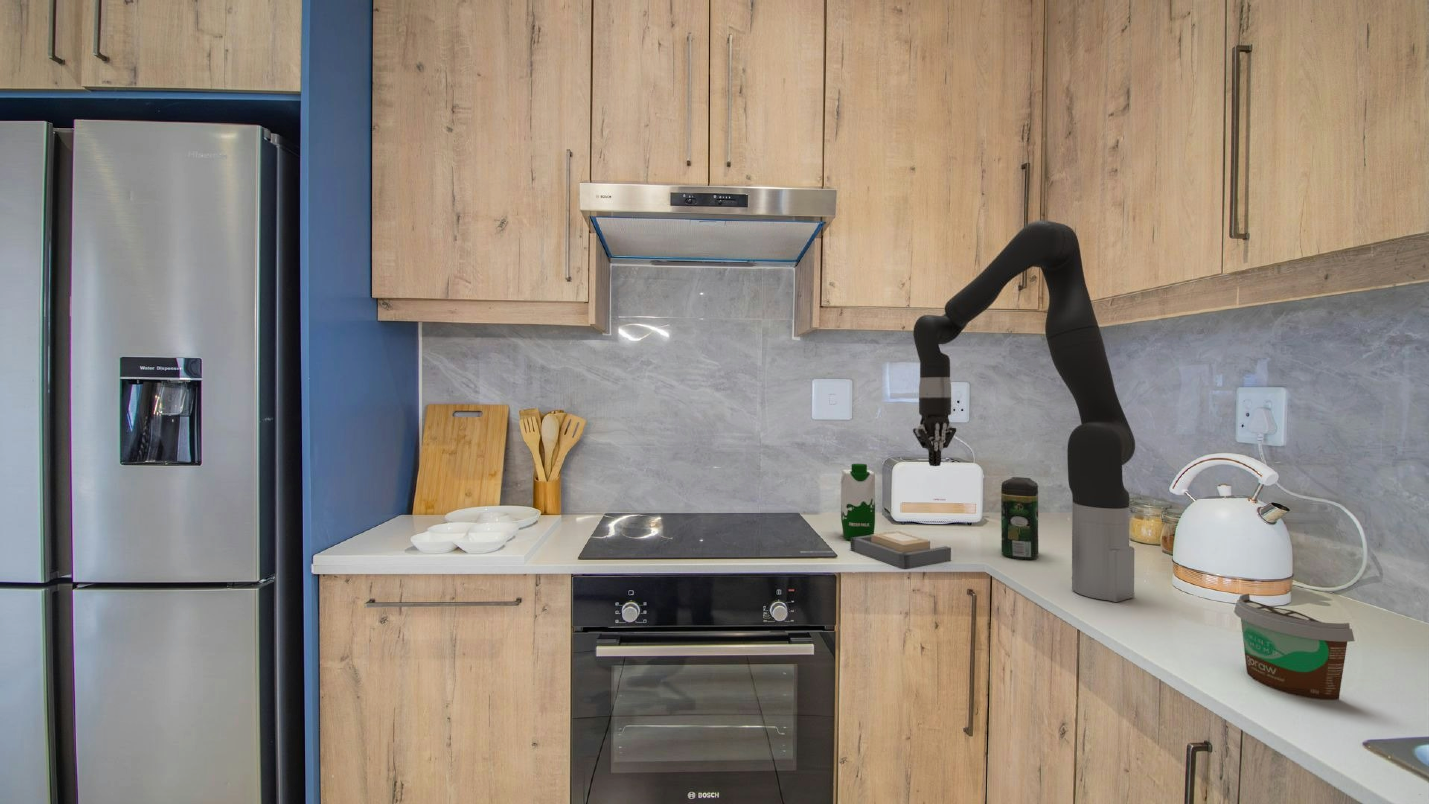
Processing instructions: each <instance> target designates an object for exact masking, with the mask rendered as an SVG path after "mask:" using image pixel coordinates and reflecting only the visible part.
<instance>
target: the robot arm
mask: <svg viewBox="0 0 1429 804" xmlns="http://www.w3.org/2000/svg"><path fill="white" fill-rule="evenodd" d="M1082 261H1083V260H1082V255H1081V248H1080V242H1079V238H1078V236H1077V233H1075V231H1074V229H1073V228H1071V227H1070V226H1069V225H1066V224H1064V223H1061V222H1060V223H1059V222H1056V221H1055V222H1054V221H1050V220H1035V221H1032V222H1030V223H1029V224H1027V225H1025V226H1024V227H1023V228H1022V229H1021V230H1020V231H1018V232H1017V234H1015V236H1014V237H1013V238H1012V239H1011V240H1010V241H1009V243H1008V244H1007V245H1006V246H1005V247H1004V248H1003V249H1002V250H1001V252H1000V253H998V254H997V256H996V257H995V258H994V259H993V260H992V261H991V262H990V263H989V264H988V265H987V267H985V268H984V270H982V271H981V272H980V274H978V275H977V276H976V277H975V278H974V279H973V280H972V281H971V282H970V283H968V284H967V285H965V287H963V288H962V289H961V290H960V291H958V292H957V293H956V294H954V296H952V297H951V298H950V299H949V300H948V301H946V303H945V305H944V313H945V314H942V315H935V314H934V315H933V314H924V315H922V316H919V317H918V319H917V320H916V321H915V323H914V326H913V335H912V336H913V340H914V345H915V349H916V352H917V356H918V358H919V359H918V360H919V385H918V414H919V415H920V416H921V419H920V422H919V424H920V425H919V426H918V427H917V428H913V429H912V433H913V434H914V436H915V438H916V440H917V441H918V443H919V444H920V446H921V447H922V449H925V450H927V452H928V464H929V466H931V467H940V466H941V463H942V451H943V450H944V449H947V448H948V447H949V445H950V444H951V442H952V440H953V438H954V436H955V434H956V432H957V428H955V427H952V426H951V425H950V419H949V416H951V415H952V382H951V358H950V356H949V355H947V354H946V353H943V352H942V351H941V348H940V345H946V344H948V343H950V342H952V341H954V340H955V339H956V338H957V337H959V335H960V334H961V333H962V331H963V330H964V329H965V328H966V327H967V325H968V324H969V323H970V322H971V321H973V320H974V319H975V318H976V317H978V316H979V315H980V314H982V313H983V312H984V311H986V310H988V308H990V307H991V306H992V304H994V302H996V300H997V299H998V297H999V295H1000V294H1001V292H1003V290H1004V288H1005V287H1006V285H1007V284H1008V283H1010V282H1011V281H1012V280H1013V279H1014V278H1015V277H1017V276H1019V275H1020V274H1022V273H1024V272H1025V271H1027V270H1029V269H1031V268H1033V267H1034V268H1039V269H1040V271H1041V272H1042V275H1043V277H1044V280H1045V282H1046V287H1047V291H1048V307H1047V313H1046V320H1045V328H1044V329H1045V330H1044V331H1045V337H1046V339H1045V340H1046V342H1047V346H1048V349H1049V353H1050V357H1051V360H1052V363H1053V365H1054V368H1055V369H1056V371H1057V373H1058V374H1059V376H1060V378H1061V380H1062V381H1063V383H1064V384H1065V385H1066V387H1067V388H1068V390H1069V392H1070V393H1071V395H1072V397H1073V398H1074V401H1075V403H1076V406H1077V410H1078V413H1079V414H1078V416H1079V419H1080V423H1081V424H1080V425H1078V426H1077V427H1075V428H1074V429H1073V430H1072V431H1071V433H1070V434H1069V435H1070V436H1069V438H1068V442H1067V479H1068V486H1069V487H1068V488H1069V489H1070V492H1071V495H1072V497H1071V498H1072V499H1071V500H1072V506H1071V507H1072V509H1071V510H1072V511H1071V515H1072V516H1071V520H1072V521H1071V522H1072V523H1071V526H1072V527H1071V530H1072V531H1071V532H1072V533H1071V535H1072V536H1071V541H1072V542H1071V589H1072V591H1073V592H1074V593H1076V594H1079V595H1082V596H1084V597H1089V598H1092V599H1097V600H1103V601H1104V600H1105V601H1109V602H1113V603H1118V602H1122V601H1125V600H1129V599H1132V598H1135V548H1134V547H1133V546H1131V545H1130V502H1131V501H1130V493H1129V491H1128V490H1127V489H1126V488H1125V486H1124V481H1123V479H1124V478H1123V466H1124V465H1126V464H1127V463H1128V462H1129V461H1130V460H1132V458H1133V456H1134V453H1135V449H1136V440H1135V437H1134V434H1133V432H1132V429H1131V427H1130V424H1129V421H1128V420H1127V417H1126V415H1125V413H1124V409H1123V408H1122V405H1121V403H1120V401H1119V398H1118V394H1117V392H1116V388H1115V384H1114V379H1113V376H1112V375H1113V374H1112V371H1111V367H1110V364H1109V360H1108V357H1107V353H1106V349H1105V348H1106V347H1105V344H1104V340H1103V337H1102V333H1101V329H1100V327H1099V324H1098V323H1099V322H1098V320H1097V317H1096V315H1095V311H1094V308H1093V304H1092V300H1091V296H1090V293H1089V290H1088V287H1087V283H1086V278H1085V274H1084V269H1083V268H1084V267H1083V262H1082Z"/></svg>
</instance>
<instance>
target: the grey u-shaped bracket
mask: <svg viewBox="0 0 1429 804" xmlns="http://www.w3.org/2000/svg"><path fill="white" fill-rule="evenodd" d="M850 551H853V552H855V553H859V554H861V555H863V556H867V557H870V558H872V559H874V560H877V561H880V562H883V563H886V564H890V565H892V566H895V567H898V568H899V569H903V570H905V569H911V568H917V567H922V566H928V565H934V564H935V565H936V564H940V563H944V562H950V561H952V548H951V547H949V546H947V545H943V546H939V547H934V548H930V549H926V550H920V551H913V552H907V553H903V552H900V551H896V550H893V549H890V548H887V547H884V546H881V545H878V544H875V543H872V542H871V535H867V536H860V537H853V538H851V541H850Z"/></svg>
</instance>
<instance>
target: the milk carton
mask: <svg viewBox="0 0 1429 804" xmlns="http://www.w3.org/2000/svg"><path fill="white" fill-rule="evenodd" d="M840 479H841V480H840V484H841V485H840V518H841V519H840V520H841V521H840V522H841V527H842V534H843V537H844V538H845V541H847V542H848V541H850V542H851V538H853V537H860V536H867V535H871V534H875V527H876V526H875V525H876V475H875V472H874V471H873V470H870V469H868V464H866V463H852V464H851V469H842V470H841V478H840Z"/></svg>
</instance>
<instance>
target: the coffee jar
mask: <svg viewBox="0 0 1429 804" xmlns="http://www.w3.org/2000/svg"><path fill="white" fill-rule="evenodd" d="M1000 486H1001V487H1000V488H1001V492H1000V493H1001V495H1000V501H1001V502H1000V504H1001V505H1000V507H1001V508H1000V521H1001V522H1000V523H1001V526H1000V530H1001V542H1000V543H1001V545H1000V546H1001V553H1002V555H1003V556H1005V557H1009V558H1012V559H1016V560H1035V559H1036V558H1037V557H1038V554H1039V485H1038V483H1037V482H1036V481H1034V480H1033V479H1031V477H1025V476H1023V477H1022V476H1021V477H1019V476H1012V477H1010V478H1008V479H1006V480H1004V481H1003V482H1002V483H1001V485H1000Z"/></svg>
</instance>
